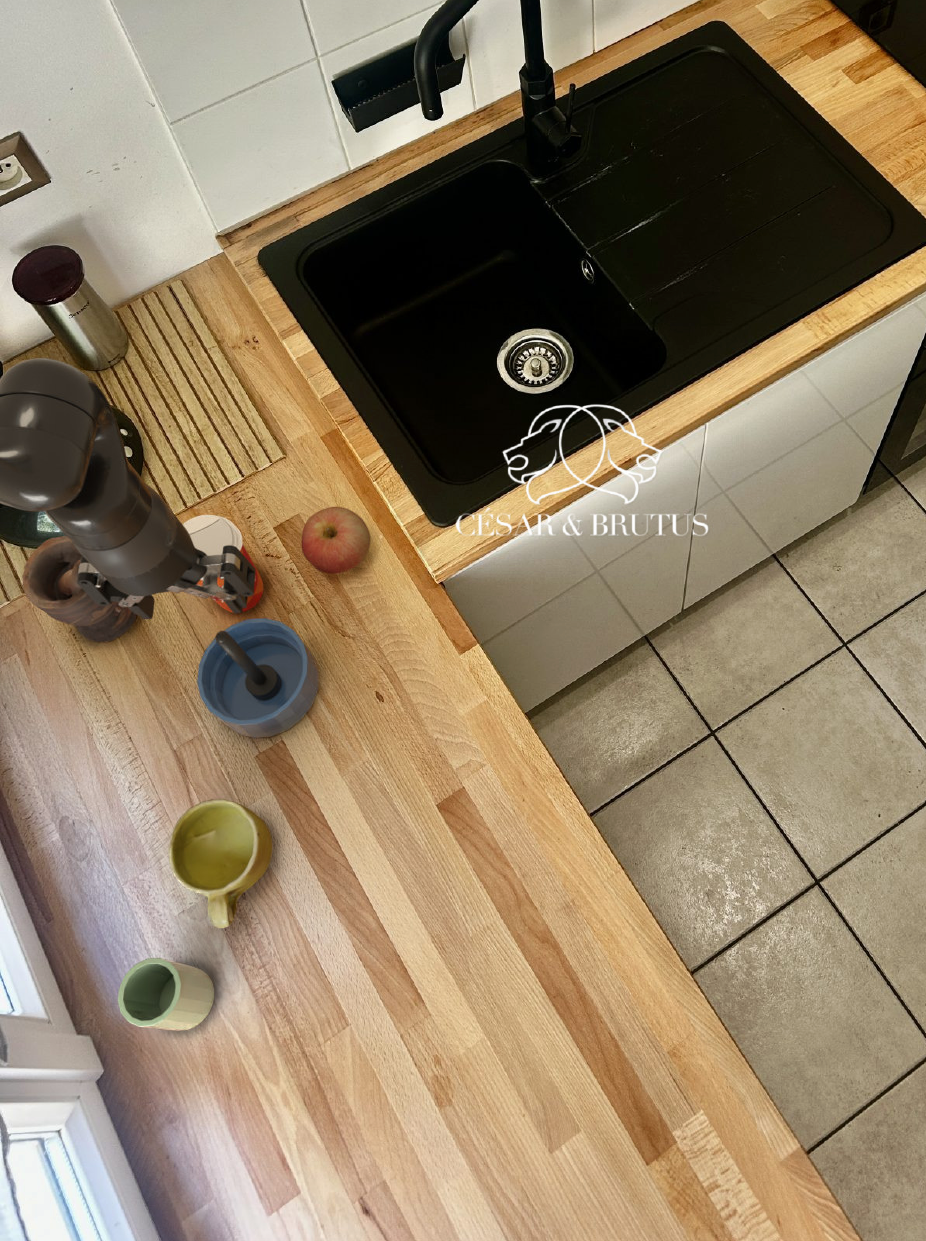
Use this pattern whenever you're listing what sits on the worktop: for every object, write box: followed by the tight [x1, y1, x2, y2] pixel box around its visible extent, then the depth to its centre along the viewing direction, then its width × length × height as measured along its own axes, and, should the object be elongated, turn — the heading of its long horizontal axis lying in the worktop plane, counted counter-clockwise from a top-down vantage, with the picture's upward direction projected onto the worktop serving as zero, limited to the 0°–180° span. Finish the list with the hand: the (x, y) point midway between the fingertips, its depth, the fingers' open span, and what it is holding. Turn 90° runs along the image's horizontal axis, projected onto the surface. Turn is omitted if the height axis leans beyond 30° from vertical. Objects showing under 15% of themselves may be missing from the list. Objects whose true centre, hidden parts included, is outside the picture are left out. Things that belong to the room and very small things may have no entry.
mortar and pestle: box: [21, 535, 138, 643], centre depth 127 cm, size 12×9×20 cm
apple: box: [301, 506, 371, 575], centre depth 135 cm, size 8×8×8 cm
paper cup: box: [182, 514, 264, 613], centre depth 130 cm, size 8×8×14 cm
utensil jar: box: [117, 957, 215, 1032], centre depth 111 cm, size 6×6×10 cm
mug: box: [167, 798, 273, 929], centre depth 118 cm, size 12×10×10 cm
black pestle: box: [214, 630, 282, 700], centre depth 123 cm, size 4×4×17 cm
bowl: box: [196, 617, 320, 739], centre depth 128 cm, size 12×12×6 cm
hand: (194, 606), depth 109 cm, fingers open, 8 cm apart
